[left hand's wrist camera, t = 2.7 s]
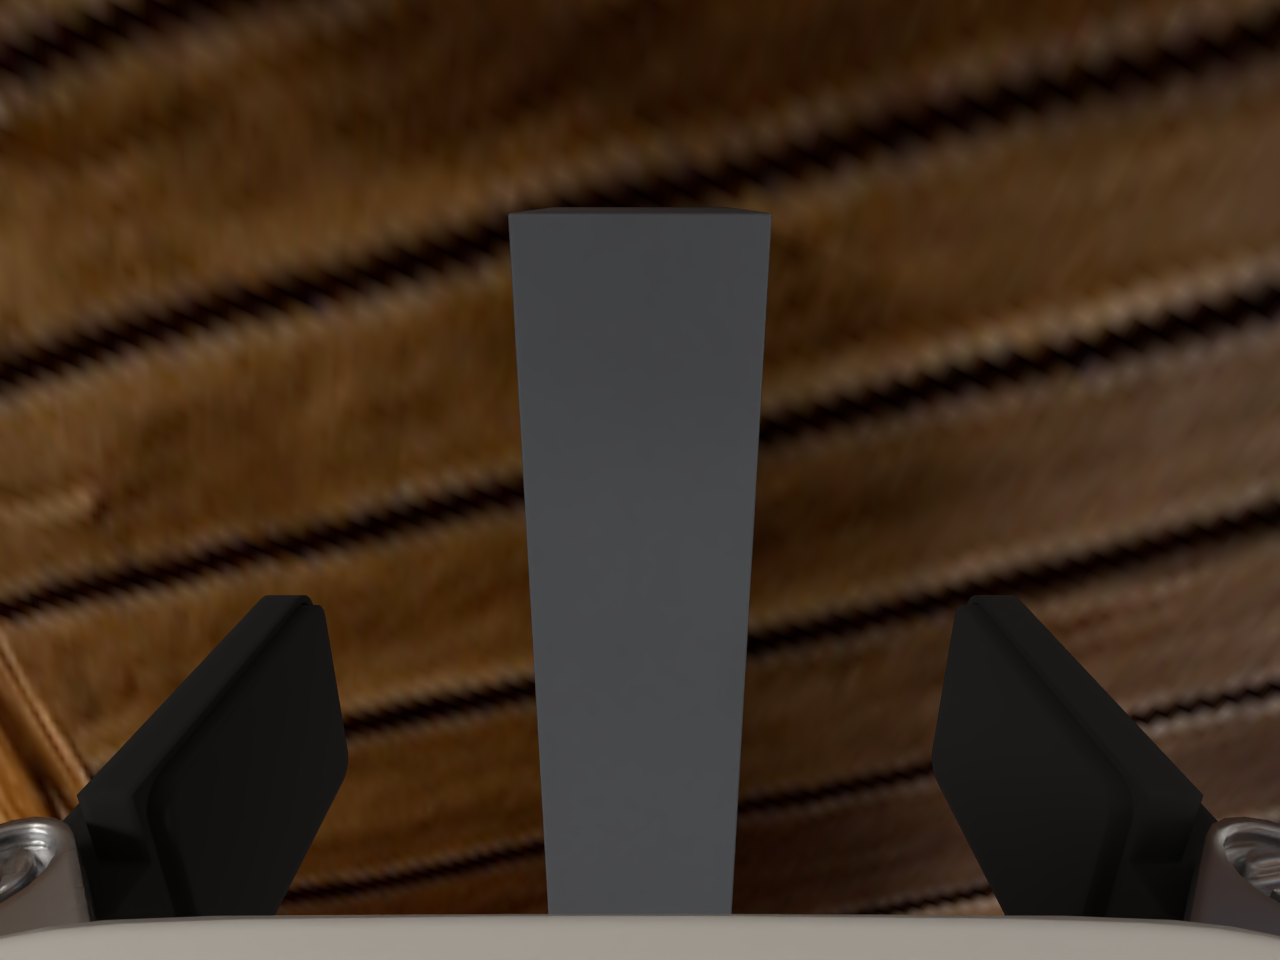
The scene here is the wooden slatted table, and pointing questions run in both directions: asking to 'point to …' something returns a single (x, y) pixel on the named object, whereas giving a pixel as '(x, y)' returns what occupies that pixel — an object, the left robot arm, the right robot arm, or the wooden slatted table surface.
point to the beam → (640, 539)
